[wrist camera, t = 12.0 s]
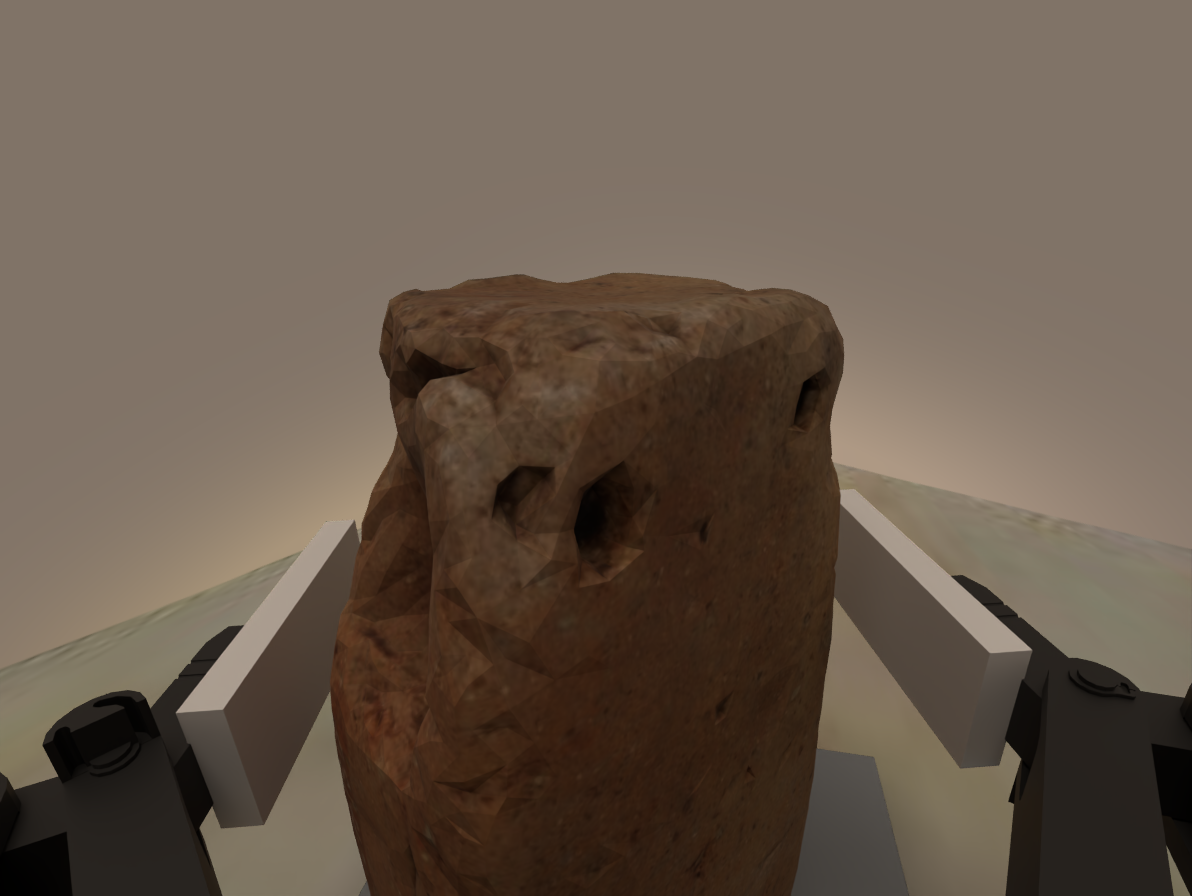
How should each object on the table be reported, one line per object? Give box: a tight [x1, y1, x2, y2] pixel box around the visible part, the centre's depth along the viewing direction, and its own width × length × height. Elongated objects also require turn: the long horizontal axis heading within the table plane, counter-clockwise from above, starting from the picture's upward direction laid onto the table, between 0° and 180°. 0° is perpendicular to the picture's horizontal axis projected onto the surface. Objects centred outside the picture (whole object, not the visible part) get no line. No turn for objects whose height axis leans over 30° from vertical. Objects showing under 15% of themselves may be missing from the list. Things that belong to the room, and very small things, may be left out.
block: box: [330, 273, 844, 896], centre depth 14 cm, size 11×8×20 cm
